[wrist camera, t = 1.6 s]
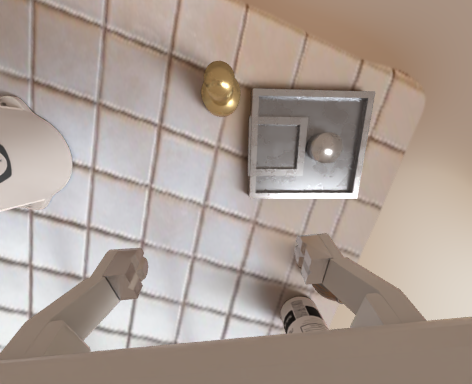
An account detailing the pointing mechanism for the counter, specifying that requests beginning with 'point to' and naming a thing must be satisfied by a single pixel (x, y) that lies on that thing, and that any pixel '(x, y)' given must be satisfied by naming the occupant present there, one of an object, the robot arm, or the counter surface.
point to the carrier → (307, 142)
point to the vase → (325, 292)
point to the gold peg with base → (220, 89)
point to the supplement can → (301, 316)
